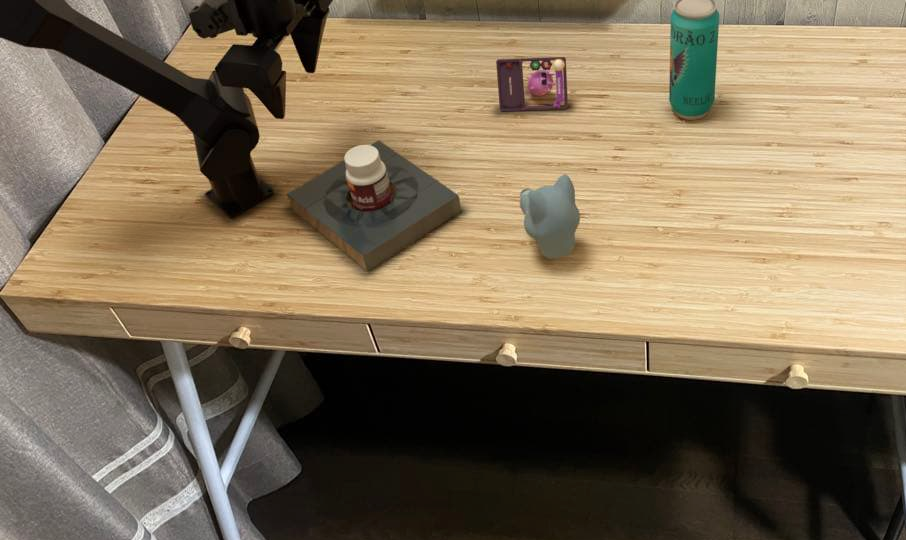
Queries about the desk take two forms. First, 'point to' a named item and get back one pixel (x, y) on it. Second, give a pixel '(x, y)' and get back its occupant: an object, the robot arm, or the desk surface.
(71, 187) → the desk surface
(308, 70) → the robot arm
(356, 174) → the pill bottle
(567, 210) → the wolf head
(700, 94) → the beverage can
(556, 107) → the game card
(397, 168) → the grey square slab
